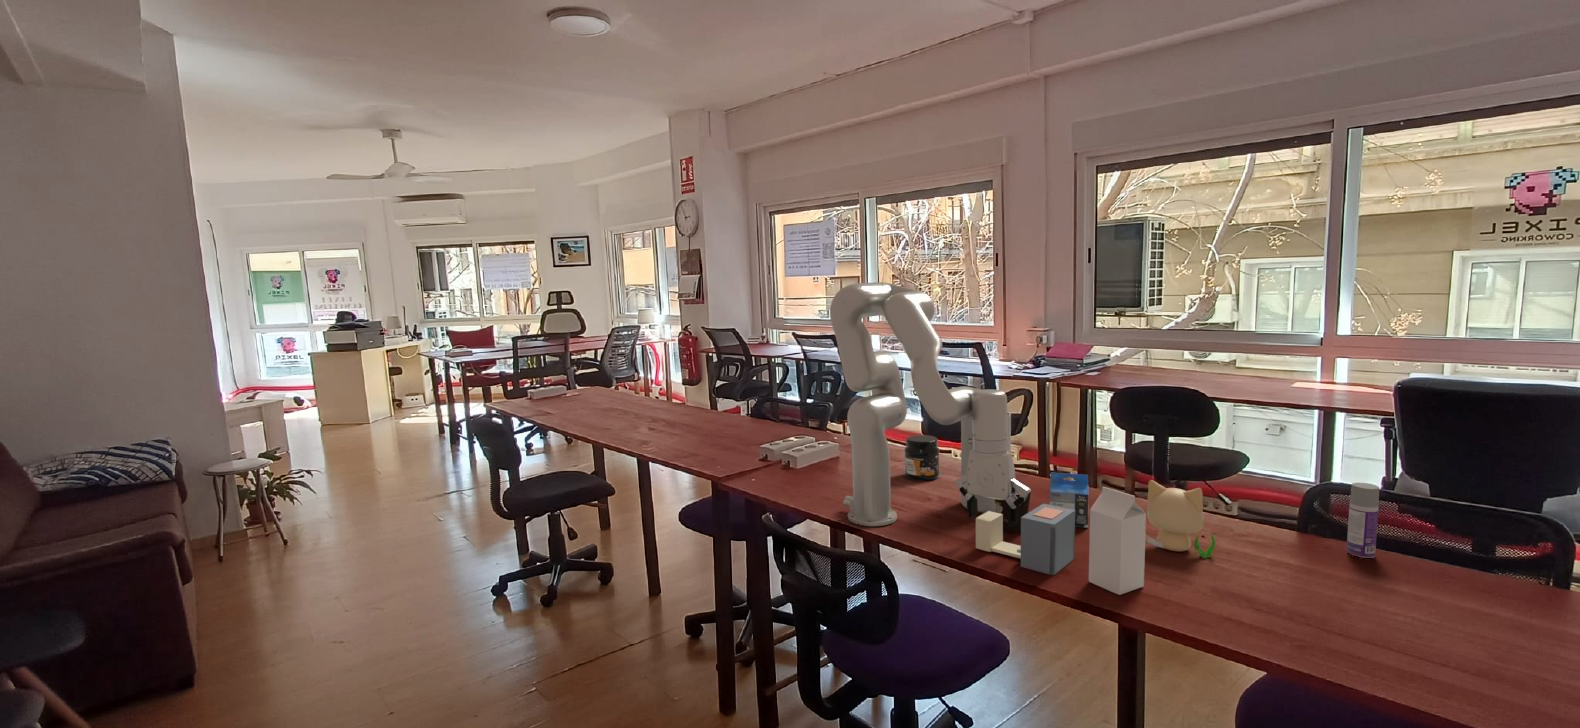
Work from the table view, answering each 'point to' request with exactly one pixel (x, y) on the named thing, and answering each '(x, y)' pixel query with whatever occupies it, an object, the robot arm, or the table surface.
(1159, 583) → the table surface
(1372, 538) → the container
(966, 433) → the cylinder vase
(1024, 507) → the coffee mug
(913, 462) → the supplement container
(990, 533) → the cream l-shaped bracket
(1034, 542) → the block
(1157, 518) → the kitten
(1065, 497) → the label tape box
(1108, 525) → the milk carton
